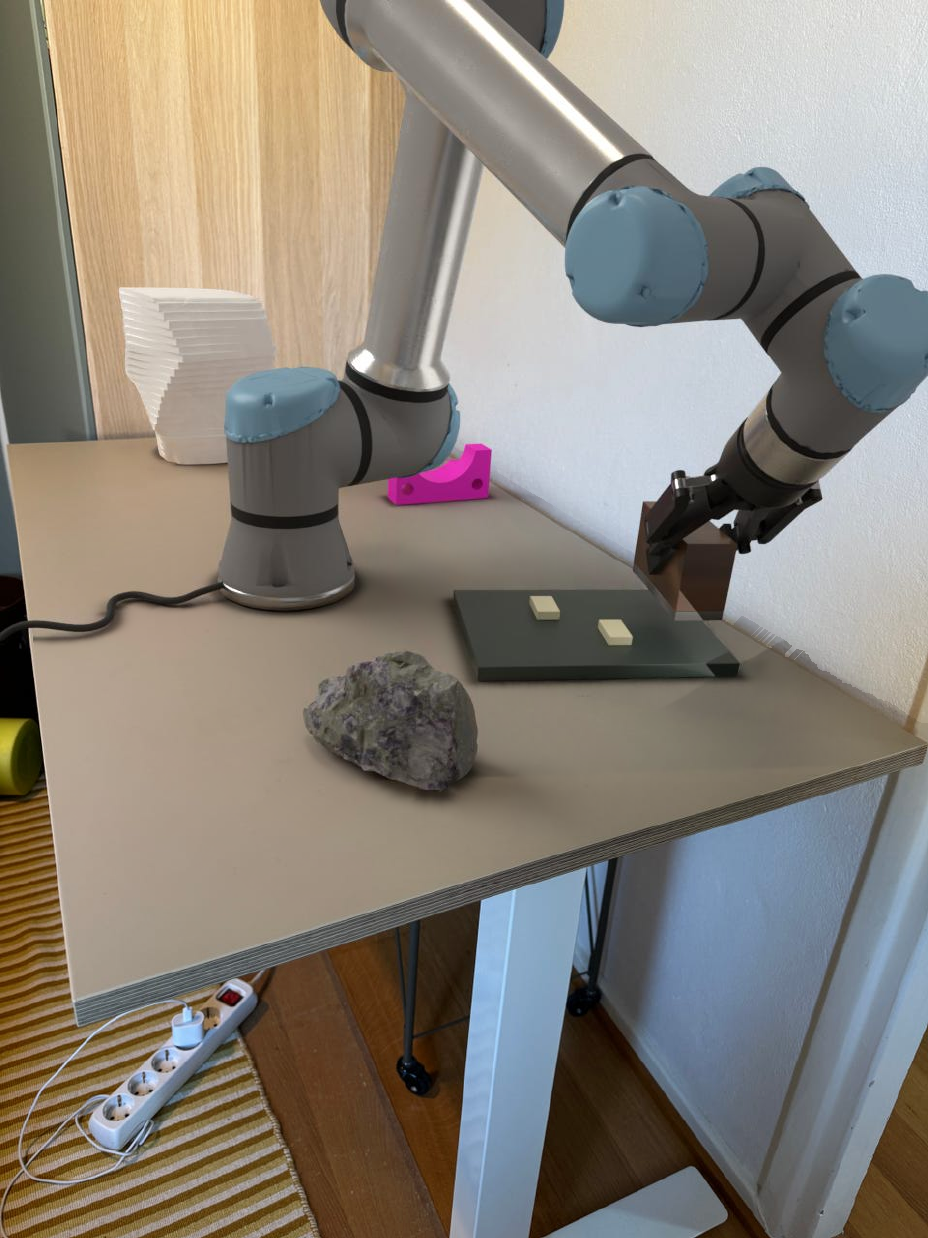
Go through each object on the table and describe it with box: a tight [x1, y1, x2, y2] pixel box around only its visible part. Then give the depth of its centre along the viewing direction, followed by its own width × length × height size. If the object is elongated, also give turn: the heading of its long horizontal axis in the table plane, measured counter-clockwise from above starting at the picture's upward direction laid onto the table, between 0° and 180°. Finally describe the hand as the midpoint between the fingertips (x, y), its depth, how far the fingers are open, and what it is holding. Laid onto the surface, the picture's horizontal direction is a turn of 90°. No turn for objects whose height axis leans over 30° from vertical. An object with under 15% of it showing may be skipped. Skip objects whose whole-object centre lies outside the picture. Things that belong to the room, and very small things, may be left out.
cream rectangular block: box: [529, 596, 560, 620], centre depth 93 cm, size 4×2×1 cm, turn 8°
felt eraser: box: [632, 500, 738, 622], centre depth 89 cm, size 13×5×8 cm, turn 8°
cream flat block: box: [598, 620, 633, 645], centre depth 89 cm, size 4×2×1 cm, turn 8°
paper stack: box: [118, 286, 277, 466], centre depth 141 cm, size 21×27×26 cm
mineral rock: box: [302, 649, 479, 793], centre depth 68 cm, size 13×11×10 cm
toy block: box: [387, 442, 493, 506], centre depth 132 cm, size 15×6×8 cm, turn 114°
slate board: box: [452, 589, 741, 682], centre depth 91 cm, size 18×26×2 cm
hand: (677, 562), depth 90 cm, fingers closed on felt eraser, 5 cm apart
